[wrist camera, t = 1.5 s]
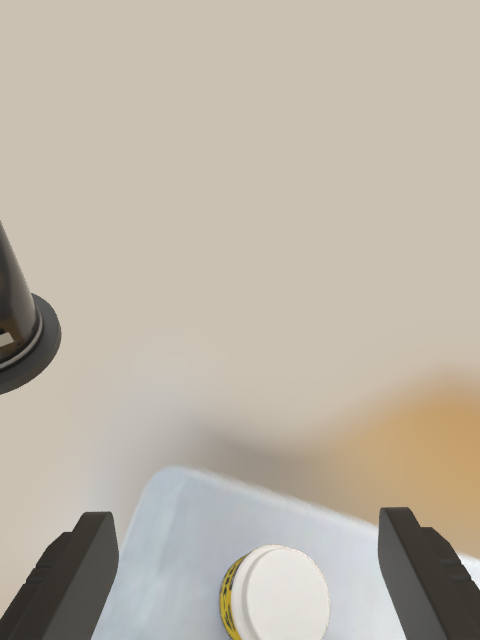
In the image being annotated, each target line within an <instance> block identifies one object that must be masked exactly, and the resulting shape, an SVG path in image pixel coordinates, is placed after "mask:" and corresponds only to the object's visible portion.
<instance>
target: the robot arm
mask: <svg viewBox="0 0 480 640" xmlns="http://www.w3.org/2000/svg"><path fill="white" fill-rule="evenodd" d="M43 331H44V322H43V318H42V316H41V313H40V311H39V309H38V307H37V306H36V304H35V302H34V300H33V297H32V295H31V292H30V290H29V287H28V285H27V282H26V280H25V278H24V275H23V273H22V271H21V269H20V266H19V264H18V261H17V259H16V256H15V254H14V252H13V249H12V247H11V245H10V242H9V240H8V238H7V235H6V233H5V230H4V228H3V226H2V223H1V221H0V372H3V371H5V370H7V369H10V368H12V367H14V366H15V365H17V364H19V363H20V362H21V361H23V360H24V359H25V358H27V357H28V356H29V355H30V354H31V353H32V352H33V351H34V350H35V348H36V347H37V346H38V344H39V342H40V340H41V338H42V335H43ZM378 559H379V565H380V569H381V573H382V576H383V578H384V581H385V584H386V586H387V589H388V592H389V594H390V597H391V599H392V602H393V605H394V607H395V610H396V612H397V615H398V618H399V620H400V623H401V625H402V628H403V631H404V633H405V636H406V638H407V640H480V590H479V589H478V587H477V585H476V584H475V582H474V581H472V580H471V576H470V575H469V573H468V571H467V570H466V568H465V567H464V565H462V564H461V560H460V559H459V557H458V556H457V554H456V553H455V551H454V550H453V548H452V547H451V545H450V543H449V542H448V541H447V540H445V539H444V538H443V537H442V536H441V535H440V534H439V533H438V532H436V531H435V530H434V529H433V528H432V527H420V525H419V523H418V521H417V520H416V518H415V516H414V515H413V513H412V511H411V510H410V509H409V508H408V507H393V508H392V507H387V508H381V509H380V516H379V535H378ZM118 562H119V551H118V545H117V538H116V532H115V526H114V519H113V515H112V513H111V512H85V513H84V514H83V515H82V516H81V518H80V519H79V521H78V523H77V524H76V526H75V528H74V529H73V531H72V532H63V533H62V534H61V535H60V536H59V537H58V538H57V539H56V540H55V541H54V542H52V543H51V544H50V545H49V546H48V547H47V548H46V550H45V552H44V553H43V555H42V556H41V558H40V559H39V561H38V562H37V564H36V567H35V568H34V569H33V570H32V572H31V573H30V575H29V576H28V578H27V579H26V583H25V584H23V585H22V587H21V589H20V590H19V592H18V593H17V595H16V596H15V598H14V599H13V601H12V602H11V604H10V606H9V607H8V609H7V610H6V612H5V613H4V615H3V616H2V618H1V619H0V640H91V637H92V635H93V632H94V630H95V627H96V625H97V622H98V620H99V617H100V615H101V612H102V609H103V607H104V604H105V602H106V599H107V597H108V594H109V592H110V589H111V587H112V584H113V582H114V579H115V576H116V573H117V568H118Z"/></svg>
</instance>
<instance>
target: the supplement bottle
mask: <svg viewBox="0 0 480 640" xmlns="http://www.w3.org/2000/svg"><path fill="white" fill-rule="evenodd" d="M219 611H220V616H221V620H222V623H223V625H224V628H225V629H226V631H227V633H228V634H229V636H230V637H231V638H232V639H233V640H322V638H323V636H324V634H325V632H326V629H327V626H328V622H329V618H330V597H329V592H328V588H327V584H326V582H325V579H324V577H323V575H322V573H321V571H320V570H319V568H318V567H317V565H316V564H315V563H314V562H313V561H312V560H311V559H310V558H309V557H308V556H307V555H305V554H304V553H302V552H300V551H298V550H295V549H292V548H288V547H285V546H282V545H276V544H271V545H264V546H261V547H259V548H256V549H255V550H253V551H252V552H250V553H248V554H247V555H245V556H243V557H242V558H240V559H239V560H237V561H236V562H235V563H234V564H233V565H232V566H231V567H230V568H229V569H228V571H227V572H226V574H225V576H224V578H223V581H222V584H221V587H220V592H219Z"/></svg>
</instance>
